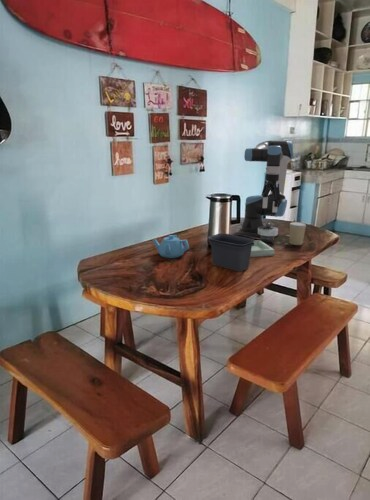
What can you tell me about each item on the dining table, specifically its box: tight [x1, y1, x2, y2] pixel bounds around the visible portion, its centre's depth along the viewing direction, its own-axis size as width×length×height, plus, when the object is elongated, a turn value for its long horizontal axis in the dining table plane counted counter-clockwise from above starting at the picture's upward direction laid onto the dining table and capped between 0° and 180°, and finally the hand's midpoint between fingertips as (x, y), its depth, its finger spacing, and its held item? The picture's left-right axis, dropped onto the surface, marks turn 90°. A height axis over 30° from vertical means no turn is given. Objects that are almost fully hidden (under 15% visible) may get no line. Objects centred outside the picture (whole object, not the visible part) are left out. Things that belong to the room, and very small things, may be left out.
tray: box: [250, 239, 276, 258], centre depth 205 cm, size 19×19×3 cm
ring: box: [257, 225, 279, 237], centre depth 222 cm, size 11×11×4 cm
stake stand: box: [260, 222, 275, 245], centre depth 223 cm, size 8×8×12 cm
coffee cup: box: [288, 221, 307, 246], centre depth 220 cm, size 9×9×12 cm
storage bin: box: [208, 232, 255, 272], centre depth 180 cm, size 21×16×14 cm
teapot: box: [152, 234, 190, 259], centre depth 196 cm, size 15×15×11 cm
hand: (269, 210), depth 218 cm, fingers open, 13 cm apart
